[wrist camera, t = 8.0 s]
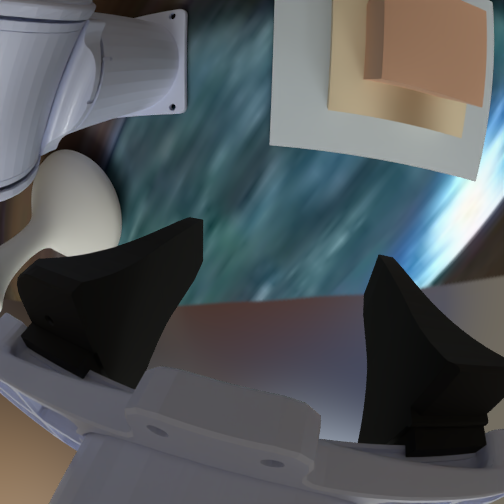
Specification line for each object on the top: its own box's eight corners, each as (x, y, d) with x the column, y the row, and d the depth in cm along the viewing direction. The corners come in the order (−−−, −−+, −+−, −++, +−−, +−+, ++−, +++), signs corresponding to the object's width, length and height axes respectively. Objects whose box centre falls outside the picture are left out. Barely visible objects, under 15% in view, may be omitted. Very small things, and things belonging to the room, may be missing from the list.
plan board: (271, 142, 20) (269, 145, 19) (277, -43, 12) (275, -47, 12) (471, 177, 17) (475, 181, 17) (487, 3, 10) (492, 2, 9)
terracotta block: (363, 79, 13) (381, 78, 9) (366, 4, 11) (383, -24, 7) (440, 97, 12) (482, 107, 8) (444, 24, 10) (486, 11, 6)
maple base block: (326, 106, 17) (328, 110, 15) (331, -9, 13) (333, -23, 10) (443, 129, 16) (461, 138, 13) (451, 19, 11) (470, 12, 9)
